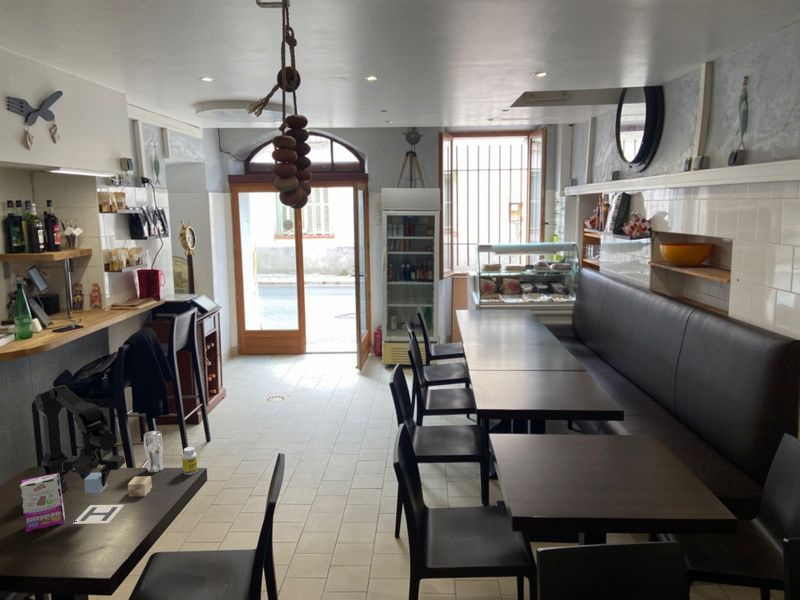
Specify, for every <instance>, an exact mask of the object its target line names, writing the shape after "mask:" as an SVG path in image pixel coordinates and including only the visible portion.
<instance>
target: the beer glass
mask: <svg viewBox="0 0 800 600" xmlns="http://www.w3.org/2000/svg"><path fill="white" fill-rule="evenodd" d="M162 433H163V432H162V431H160V430H151V431H148V432H145V433H144V434H143V447H144V448H143V449H144V452H145V456H146V460H147V470H148V471H147V472H148V473H158V472H160V471H159V470H161V471H163V470H164V464H163V451H164V450H163V449H164V442H163V435H162Z"/></svg>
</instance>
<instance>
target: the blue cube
mask: <svg viewBox="0 0 800 600" xmlns="http://www.w3.org/2000/svg"><path fill="white" fill-rule="evenodd" d="M83 483H84V491H85V492H84V493H85V494H101V493H102V492H103V491H104V490H105V489H106V488H107V487H108V481H107V482H106V485H105V486H104V487H103V485H102V474H101V473H100V472H90V474H89V475H88V476H87V477H86V478H85V479H84V481H83Z"/></svg>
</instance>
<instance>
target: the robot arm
mask: <svg viewBox="0 0 800 600" xmlns="http://www.w3.org/2000/svg"><path fill="white" fill-rule="evenodd" d="M34 405H35V406H36V409H37V411H38V412H39V413H40V414H41V415H42V420H43V421H42V422H43V432H44V433H43V434H44V444H45V454H44V455H43V457H42V458H41V465H40V466H41V467H40V469H39V470H38V472H37V473H36V476H37V477H42V476H46V475H52V474H57V473H59V475H60V482H61V490H62V494H64V492H66V491H67V490H68V489H69V486H68V485H67V479H66V478H65V475H67V474H69V471H71V472H72V473H75V474H78V475H79V477H80V478H81V479H82V481H83V482H84V479H85V478H86V477H87V476H88V475H89V474H91V473H92V471H93V469H94V470H95V469H96V470H97V468H98V467H99V466H101V467H102V468H101V469H100V470H99V473H101V474H102V485H103V487H104V486H105V485H106V482H107V483H108V479H109V475H110V474H111V473H110V472H111V471H117V470H119V469H121V467H122V466H123V465H124V464H125V463H126V461H125V459H126V458H125V457H124V455H112V456H111V457H109V458H105V453H103V451H110V450H112V449H113V448H114V447H115V446H116V443H117V437H116V435H115V434H114V433H112V432H111V431H110V429H109V428H106V427H109V425H110V424H109V423H108V421H109V419H108V418H107V417H106V415H105V414H104V411H103V410H102V408H100V407H99V406H98V405H96V404H95V403H94V402H93V403H92V402H86V401H84V400H83V399H81V398H80V397H79V396H77V395H76V394H75V393H74V392H73V391H72V390H70V389H69V387H68V385H64V384H62V385H61V384H60V385H57V386H54V387H52V388H50V389H48V390H46V391H43V392H40V393H38V394H37V395H36V396H35V397H34ZM63 407H65V408H66V409H67V410H68V412H71V413H72V414H73V420H74V421H75V423H76V425H77V426H78V427H77V429H78V430H79V431H80V437H81V444H82V448H81V449H80V454H79V455H76V456H75V455H70V456H69V457H68V456H67V455H66V454H65V453H64V452H63V451H62V441H61V427H60V418H59V417H60V413H61V411H62V409H63ZM104 458H105V459H104Z"/></svg>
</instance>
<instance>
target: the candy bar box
mask: <svg viewBox="0 0 800 600" xmlns="http://www.w3.org/2000/svg"><path fill="white" fill-rule="evenodd" d="M19 492H20V498H21V506H22V512H23V519H24V526H25V527H24V528H25V532H26V533H29V532H33V531H37V530H42V529H47V528H49V527H50V526H51V527H54V526H59V525H63V524H65V519H66V514H65V507H64V500H63V499H64V498H63V493H62V490H61V482H60V475H59V473H57V474H52V475H46V476H42V477H38V476H37V477H31V478H28V479H23V480H21V481H20V485H19ZM46 527H47V528H46ZM41 528H42V529H41ZM28 531H29V532H28Z"/></svg>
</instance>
